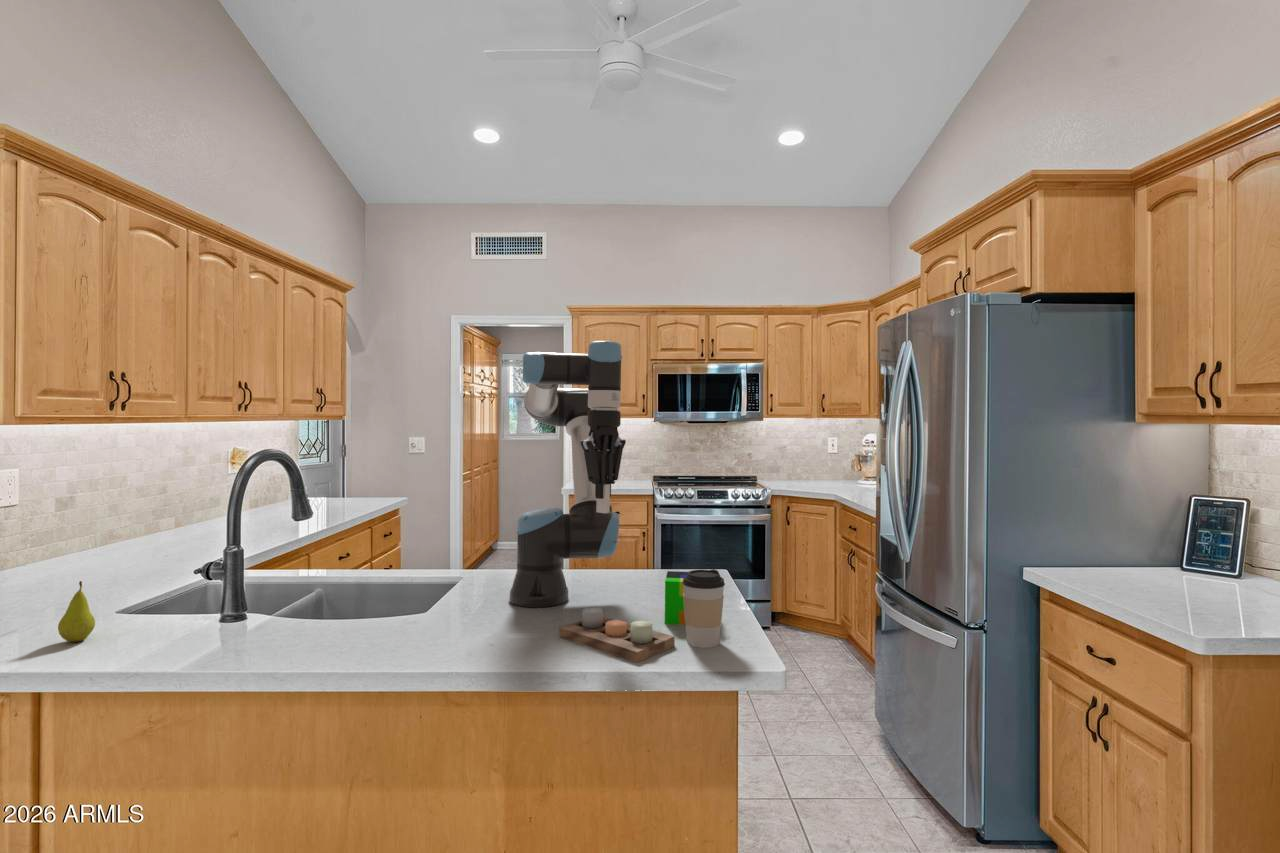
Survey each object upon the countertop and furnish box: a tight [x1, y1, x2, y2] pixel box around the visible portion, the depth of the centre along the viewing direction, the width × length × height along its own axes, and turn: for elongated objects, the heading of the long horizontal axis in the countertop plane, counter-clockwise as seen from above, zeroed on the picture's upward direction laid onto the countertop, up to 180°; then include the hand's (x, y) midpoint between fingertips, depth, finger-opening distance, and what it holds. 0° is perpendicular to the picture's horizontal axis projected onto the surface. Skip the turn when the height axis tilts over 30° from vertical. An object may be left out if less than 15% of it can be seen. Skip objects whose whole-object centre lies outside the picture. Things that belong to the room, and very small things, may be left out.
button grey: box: [581, 607, 604, 630], centre depth 138 cm, size 4×4×3 cm
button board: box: [559, 615, 676, 663], centre depth 133 cm, size 22×12×2 cm, turn 50°
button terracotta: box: [605, 619, 628, 638], centre depth 133 cm, size 4×4×3 cm
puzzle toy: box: [664, 570, 689, 626], centre depth 149 cm, size 10×10×10 cm
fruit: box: [57, 580, 96, 643], centre depth 130 cm, size 6×6×12 cm
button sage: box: [630, 620, 654, 646], centre depth 129 cm, size 4×4×3 cm
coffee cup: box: [682, 568, 726, 649], centre depth 133 cm, size 9×9×15 cm
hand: (602, 512), depth 144 cm, fingers closed
